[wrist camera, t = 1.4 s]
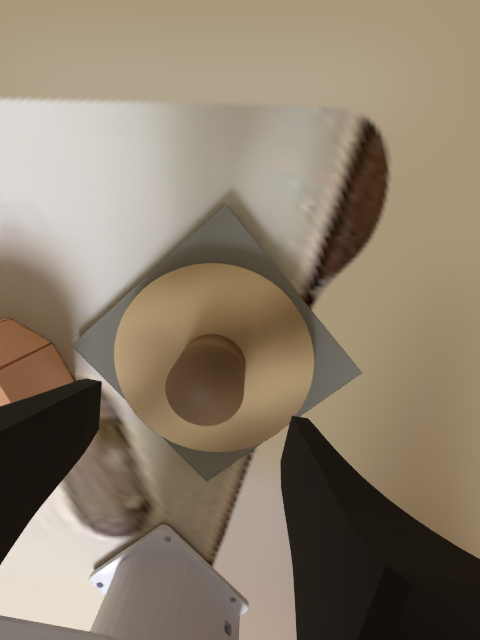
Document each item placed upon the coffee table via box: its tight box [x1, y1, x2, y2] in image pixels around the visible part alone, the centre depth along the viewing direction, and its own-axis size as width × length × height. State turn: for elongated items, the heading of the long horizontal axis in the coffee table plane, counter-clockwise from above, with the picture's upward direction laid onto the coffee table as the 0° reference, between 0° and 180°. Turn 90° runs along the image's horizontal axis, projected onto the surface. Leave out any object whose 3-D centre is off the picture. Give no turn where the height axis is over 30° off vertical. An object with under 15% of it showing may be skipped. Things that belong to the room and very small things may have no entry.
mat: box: [72, 204, 362, 481], centre depth 18 cm, size 12×12×1 cm
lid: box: [114, 263, 314, 452], centre depth 16 cm, size 11×11×4 cm
